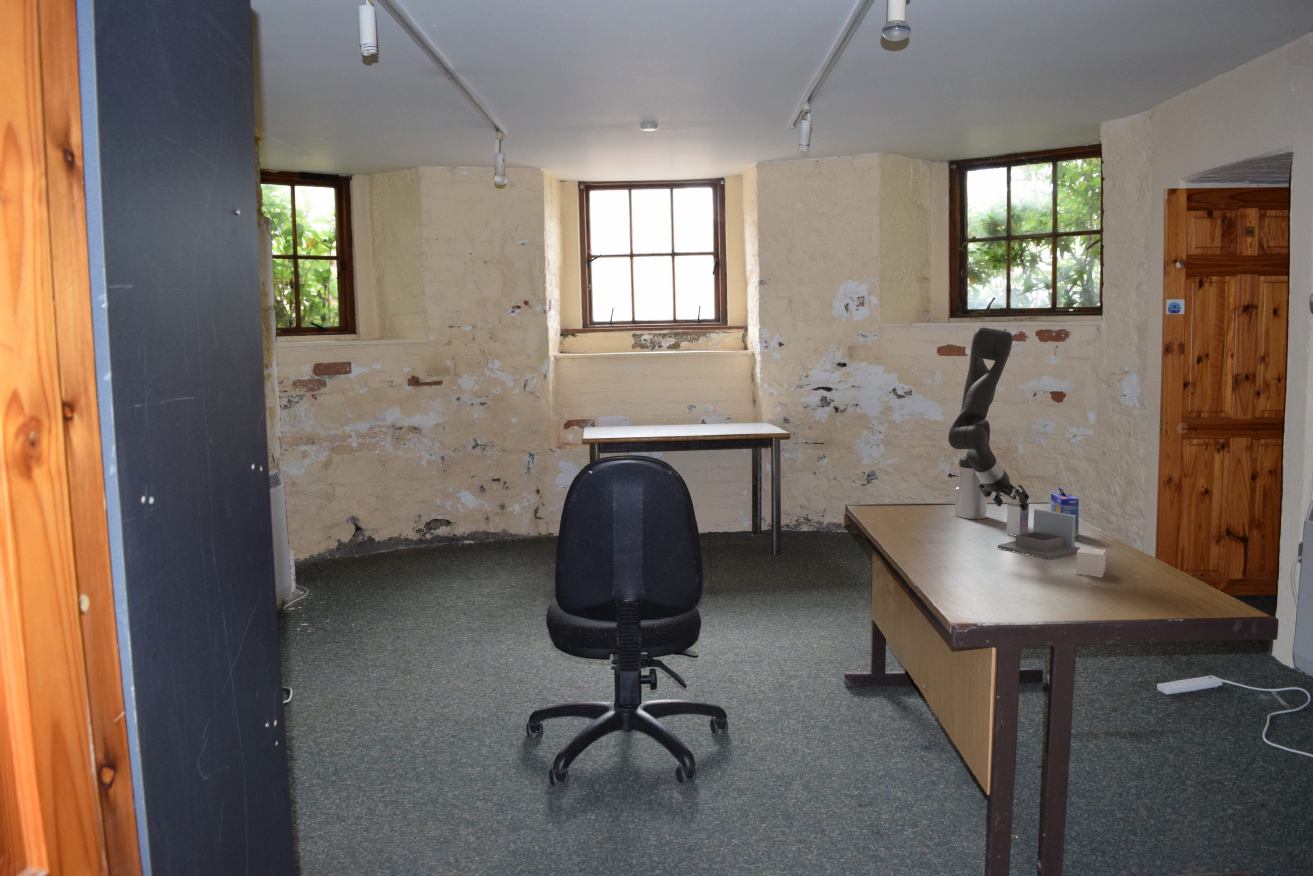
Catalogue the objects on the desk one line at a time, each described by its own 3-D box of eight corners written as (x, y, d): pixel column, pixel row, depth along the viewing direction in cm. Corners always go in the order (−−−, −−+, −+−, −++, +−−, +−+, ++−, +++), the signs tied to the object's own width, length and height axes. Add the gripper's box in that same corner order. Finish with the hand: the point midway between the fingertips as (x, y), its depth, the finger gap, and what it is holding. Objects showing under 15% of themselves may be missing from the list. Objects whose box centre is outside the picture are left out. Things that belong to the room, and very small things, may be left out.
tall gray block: (1006, 534, 270) (1007, 502, 268) (1014, 532, 272) (1015, 501, 271) (1019, 537, 266) (1020, 504, 265) (1027, 535, 268) (1028, 503, 267)
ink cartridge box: (1048, 530, 274) (1050, 485, 273) (1066, 530, 274) (1068, 485, 272) (1059, 537, 265) (1061, 490, 263) (1078, 538, 264) (1080, 490, 262)
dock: (997, 548, 252) (998, 514, 251) (1030, 540, 261) (1031, 508, 260) (1049, 559, 239) (1050, 524, 238) (1081, 551, 248) (1082, 516, 247)
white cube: (1101, 578, 221) (1102, 554, 220) (1075, 574, 224) (1076, 551, 224) (1105, 572, 226) (1106, 549, 225) (1079, 569, 229) (1080, 547, 229)
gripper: (1018, 466, 254) (1039, 500, 262) (976, 460, 266) (998, 493, 274) (1006, 486, 252) (1028, 519, 260) (964, 479, 264) (987, 512, 271)
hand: (1012, 506), depth 267 cm, fingers open, 8 cm apart
